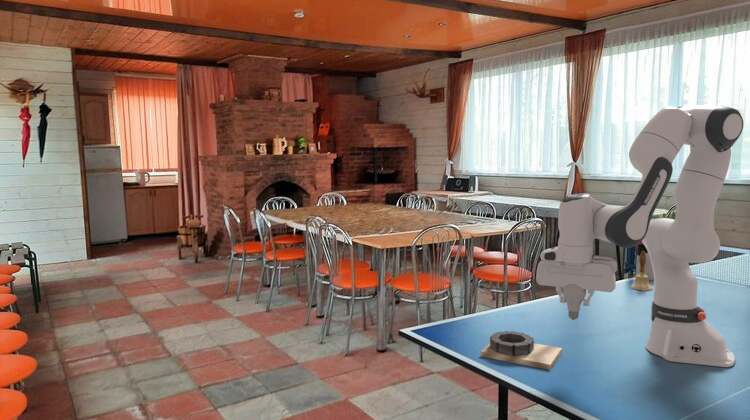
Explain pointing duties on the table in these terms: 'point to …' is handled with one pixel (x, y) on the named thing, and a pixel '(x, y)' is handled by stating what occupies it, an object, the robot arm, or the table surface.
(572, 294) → the lightbulb
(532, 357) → the socket board
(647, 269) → the glass holder
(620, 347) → the table surface
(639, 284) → the hand bell
